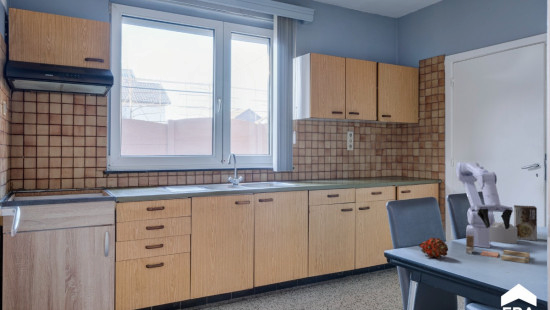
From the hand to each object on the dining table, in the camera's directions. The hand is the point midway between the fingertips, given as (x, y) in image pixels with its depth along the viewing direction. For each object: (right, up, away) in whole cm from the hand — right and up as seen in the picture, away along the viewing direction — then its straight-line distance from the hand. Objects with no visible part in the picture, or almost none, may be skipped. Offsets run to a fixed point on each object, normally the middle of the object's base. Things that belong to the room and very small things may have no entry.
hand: (497, 227), depth 160 cm
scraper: (-8, -12, +7) cm, 16 cm away
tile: (-2, -12, +3) cm, 13 cm away
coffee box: (+32, -12, +33) cm, 48 cm away
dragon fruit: (-27, -12, -1) cm, 29 cm away
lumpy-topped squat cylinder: (+18, -12, +29) cm, 36 cm away
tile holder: (+5, -12, -2) cm, 13 cm away
